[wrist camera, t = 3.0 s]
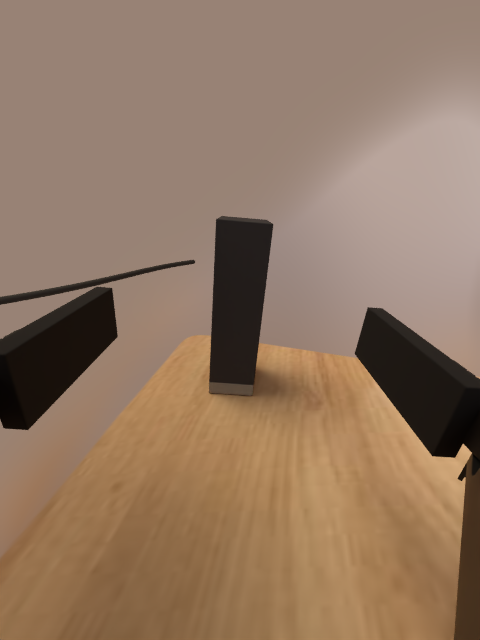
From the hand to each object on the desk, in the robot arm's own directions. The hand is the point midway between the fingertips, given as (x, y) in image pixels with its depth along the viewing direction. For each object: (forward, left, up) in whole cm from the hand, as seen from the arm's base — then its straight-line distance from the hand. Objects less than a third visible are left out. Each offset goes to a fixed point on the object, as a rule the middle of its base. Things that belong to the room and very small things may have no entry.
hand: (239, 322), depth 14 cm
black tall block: (-9, -3, -10) cm, 14 cm away
